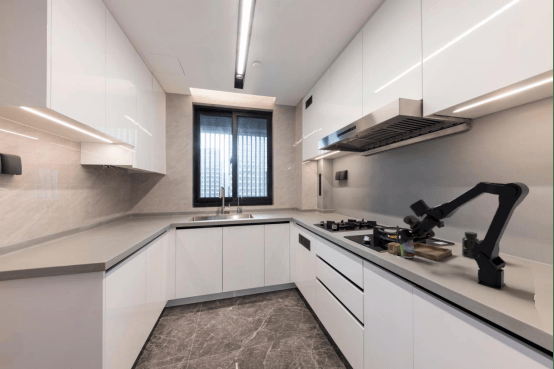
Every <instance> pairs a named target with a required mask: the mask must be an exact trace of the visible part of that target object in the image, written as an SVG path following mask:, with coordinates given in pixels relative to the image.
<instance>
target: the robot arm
mask: <svg viewBox="0 0 554 369" xmlns="http://www.w3.org/2000/svg"><path fill="white" fill-rule="evenodd" d="M529 193H530V188H529V187H528V185H527V184H525V183H524V182H520V181H519V182H518V181H517V182H516V181H514V182H508V183H501V182H489V181H480V182H478V183H476V184H475V185H474V186H472V187H471V188H469V189H467V190H465V191H464V192H463V193H461V194H458V196H456V197H455V198H453V199H452V200H450V201H447V202H444V203H442V204H438V205H436V206H434V207H430V206H429V205H428V204H427V203H426V201H425V200H424V199H419V200H417V201H415V202H414V203H411V204H410V205H409V207H408V208H409V209H410V210H411V211H412V213H414V215H406V216H404V218H402V219H403V221H402V222H404V224H406V225H408V226H409V229H410V230H411V231H410V230H409V229H408V228H400V229H398V230H397V234H398V235H399V236H400V238H399V240H398V242H397V243H399V244H404V243H408V242H410V241H412V240H413V243H417V242H419V241H424V240H430V239H432V238H434V237H435V236H436V232H434V230H433V229H435V228H436V227H437V229H441V228H444V227H445V221H444V220H445V219H449V218H452V217H453V215H455V214H456V213H457V211H458V210H460V208H462V207H464V206H465V205H467V204H469V203H471V202H472V201H475V200H476V199H477V198H479V197H481V196H483V195H485V194H490V195H496V196H498V207H497V208H496V211H495V213H494V214H493V216H492V217H493V218H492V220H491V222H490V224H489V227H488V229H487V231H486V233H485V236H484V238H483V239H481V240H480V239H479V241H477V242H475V243H474V247H473V249H472V250H471V252H472V257H473V258H472V259H473V260H474V261H475V262H476V264H477V267H478V269H477V280H478V281H477V284H479V285H484V286H486V287H490V288H494V289H496V290H502V289H503V288H504V287H506V282H505V270H504V268H505V267H506V265H507V262H506V261H505V260H504V259H503V258H502V257H501V256H500V241H501V240H502V238H503V235H504V233H505V231H506V230H507V226H508V225H509V223H510V220H511V219H512V216H513V214H514V212H515V210H516V208H517V207H518V206H519V205H520V204H522V202H523V201H524V200H525V199H526V198H527V196H528V195H529ZM417 217H418V218H417ZM419 217H420V218H422V219H421V220H420V219H419Z"/></svg>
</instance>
